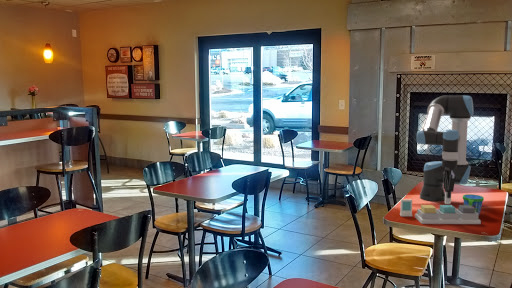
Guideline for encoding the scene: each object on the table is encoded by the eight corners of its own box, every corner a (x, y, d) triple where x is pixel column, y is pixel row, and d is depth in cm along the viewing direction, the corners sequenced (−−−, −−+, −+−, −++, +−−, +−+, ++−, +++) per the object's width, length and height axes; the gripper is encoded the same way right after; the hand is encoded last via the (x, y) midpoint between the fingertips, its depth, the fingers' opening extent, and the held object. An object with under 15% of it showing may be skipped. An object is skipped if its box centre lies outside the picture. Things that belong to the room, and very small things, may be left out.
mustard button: (420, 212, 252) (420, 204, 252) (431, 212, 252) (432, 205, 252) (424, 215, 246) (424, 207, 246) (435, 215, 246) (436, 208, 246)
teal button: (439, 212, 252) (439, 205, 251) (450, 212, 252) (451, 205, 251) (443, 215, 246) (443, 208, 245) (455, 215, 246) (455, 208, 245)
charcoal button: (458, 212, 251) (458, 205, 251) (469, 212, 251) (470, 205, 251) (462, 215, 246) (463, 208, 245) (474, 215, 245) (474, 208, 245)
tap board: (414, 217, 256) (415, 208, 255) (471, 217, 255) (471, 208, 254) (421, 223, 244) (422, 214, 243) (480, 224, 243) (481, 214, 242)
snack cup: (478, 219, 251) (479, 200, 250) (457, 215, 258) (458, 197, 256) (486, 213, 263) (487, 195, 262) (466, 209, 270) (467, 192, 268)
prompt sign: (399, 214, 261) (400, 198, 259) (410, 214, 260) (411, 198, 259) (401, 216, 258) (401, 200, 256) (412, 216, 257) (412, 200, 256)
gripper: (438, 157, 252) (436, 200, 255) (446, 161, 239) (444, 206, 242) (452, 157, 251) (450, 200, 254) (461, 161, 238) (459, 206, 241)
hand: (447, 203), depth 248 cm, fingers closed
